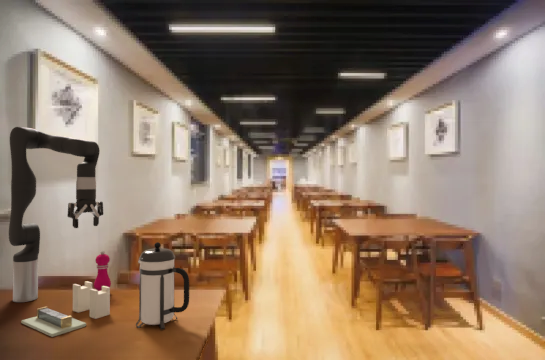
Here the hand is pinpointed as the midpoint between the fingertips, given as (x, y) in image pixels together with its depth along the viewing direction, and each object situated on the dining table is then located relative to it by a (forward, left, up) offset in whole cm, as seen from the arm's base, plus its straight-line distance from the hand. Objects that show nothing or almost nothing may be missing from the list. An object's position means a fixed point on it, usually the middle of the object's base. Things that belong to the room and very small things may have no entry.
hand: (85, 226), depth 162 cm
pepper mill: (-10, +14, -33) cm, 37 cm away
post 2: (+15, -3, -33) cm, 36 cm away
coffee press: (+41, +5, -33) cm, 53 cm away
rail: (+10, -18, -32) cm, 38 cm away
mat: (+10, -18, -33) cm, 39 cm away
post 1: (+3, -3, -33) cm, 33 cm away
